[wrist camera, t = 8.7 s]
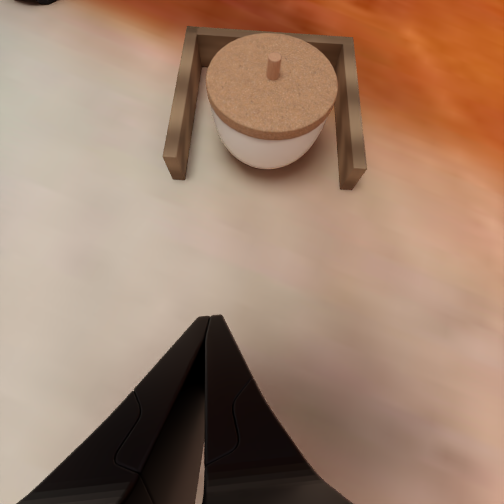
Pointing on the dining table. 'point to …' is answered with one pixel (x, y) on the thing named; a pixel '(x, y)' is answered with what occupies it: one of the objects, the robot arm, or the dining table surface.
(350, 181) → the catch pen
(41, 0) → the portable speaker
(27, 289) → the dining table surface
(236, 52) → the lidded jar
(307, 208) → the dining table surface
